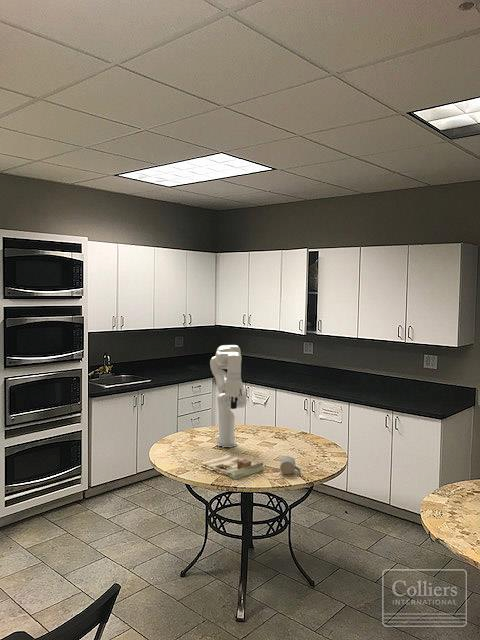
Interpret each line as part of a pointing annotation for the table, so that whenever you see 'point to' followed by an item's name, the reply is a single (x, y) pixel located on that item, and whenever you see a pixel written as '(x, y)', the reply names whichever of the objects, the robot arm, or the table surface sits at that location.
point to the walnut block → (243, 463)
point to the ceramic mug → (289, 466)
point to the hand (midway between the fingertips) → (233, 408)
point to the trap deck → (232, 466)
